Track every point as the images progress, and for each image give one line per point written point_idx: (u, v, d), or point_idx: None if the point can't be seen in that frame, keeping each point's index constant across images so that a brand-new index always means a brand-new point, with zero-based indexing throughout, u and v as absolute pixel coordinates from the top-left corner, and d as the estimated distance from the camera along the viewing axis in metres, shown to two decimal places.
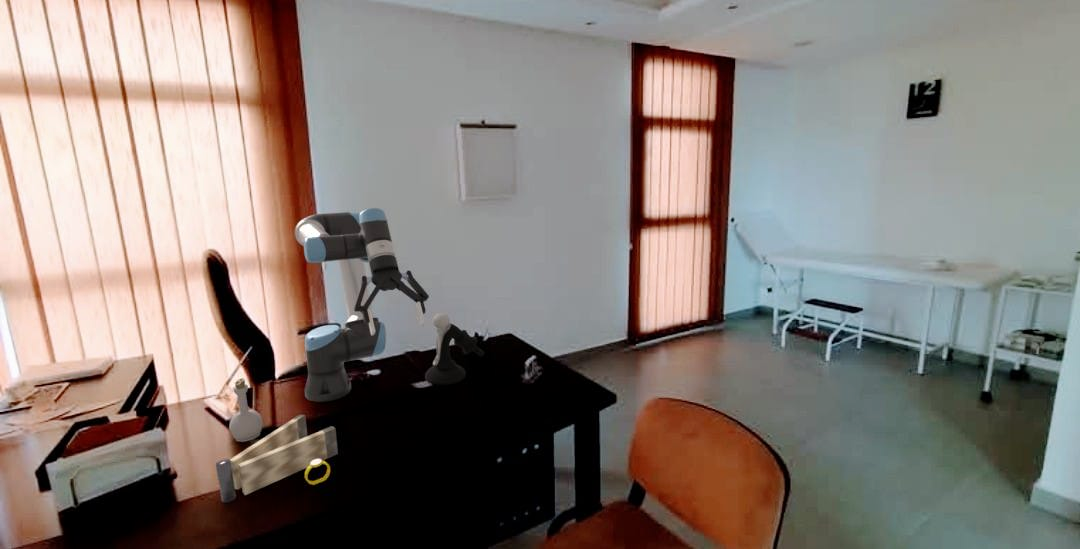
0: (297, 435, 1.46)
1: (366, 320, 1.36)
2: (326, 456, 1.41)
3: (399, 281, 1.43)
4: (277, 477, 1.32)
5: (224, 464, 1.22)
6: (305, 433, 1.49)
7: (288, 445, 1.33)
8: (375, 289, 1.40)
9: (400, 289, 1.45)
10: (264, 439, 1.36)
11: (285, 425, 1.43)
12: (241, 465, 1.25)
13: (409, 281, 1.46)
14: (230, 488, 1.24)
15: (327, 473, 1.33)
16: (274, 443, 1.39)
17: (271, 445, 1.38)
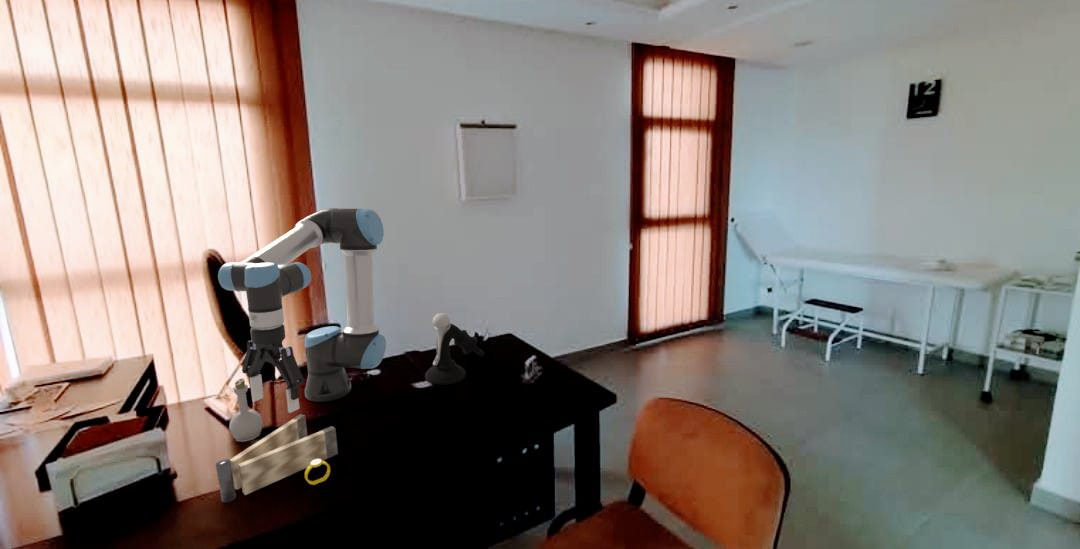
0: (297, 435, 1.46)
1: (251, 386, 1.33)
2: (326, 456, 1.41)
3: (271, 360, 1.26)
4: (277, 477, 1.32)
5: (224, 464, 1.22)
6: (305, 433, 1.49)
7: (288, 445, 1.33)
8: (255, 359, 1.29)
9: None
10: (264, 439, 1.36)
11: (285, 425, 1.43)
12: (241, 465, 1.25)
13: None
14: (230, 488, 1.24)
15: (327, 473, 1.33)
16: (274, 443, 1.39)
17: (271, 445, 1.38)
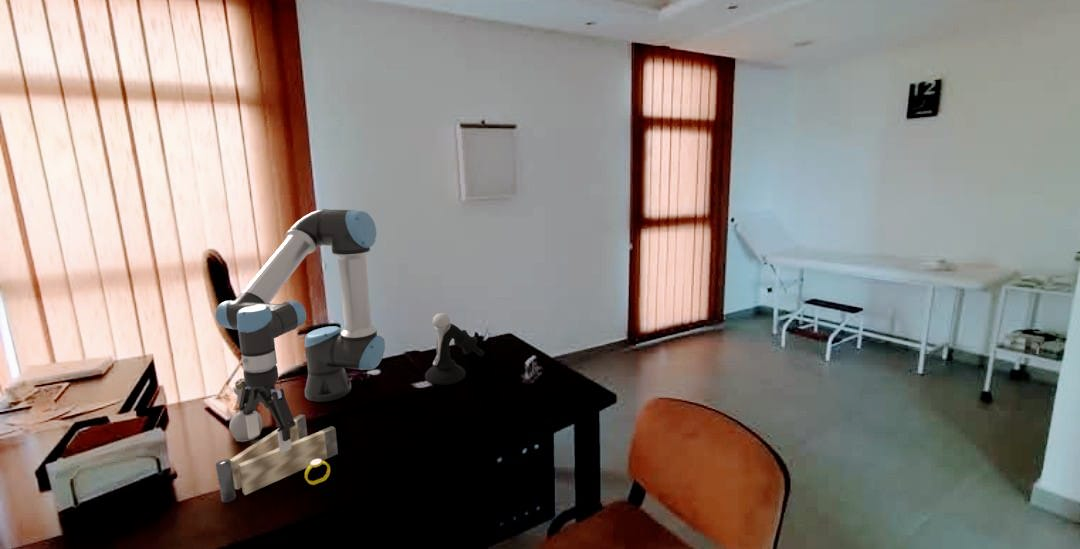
0: (297, 435, 1.46)
1: None
2: (326, 456, 1.41)
3: (264, 402, 1.27)
4: (277, 477, 1.32)
5: (224, 464, 1.22)
6: (305, 433, 1.49)
7: None
8: (250, 399, 1.31)
9: None
10: (264, 439, 1.36)
11: None
12: (241, 465, 1.25)
13: None
14: (230, 488, 1.24)
15: (327, 473, 1.33)
16: (274, 443, 1.39)
17: (271, 445, 1.38)
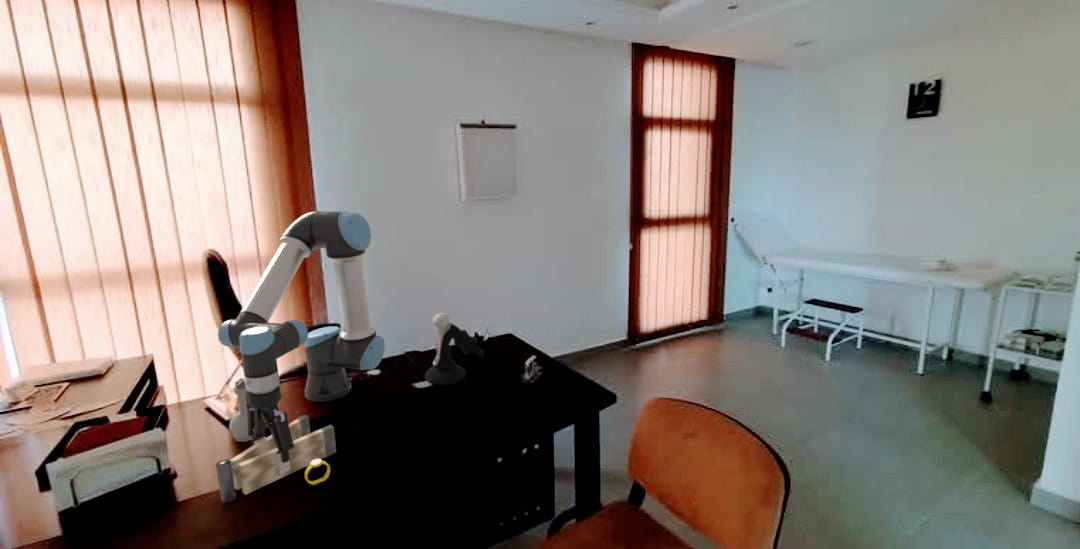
0: (300, 436, 1.46)
1: None
2: (325, 455, 1.42)
3: (267, 422, 1.29)
4: (277, 476, 1.32)
5: (224, 464, 1.22)
6: None
7: None
8: (256, 421, 1.33)
9: None
10: (266, 439, 1.36)
11: None
12: (241, 465, 1.25)
13: None
14: (230, 488, 1.24)
15: (327, 473, 1.33)
16: None
17: (273, 446, 1.37)
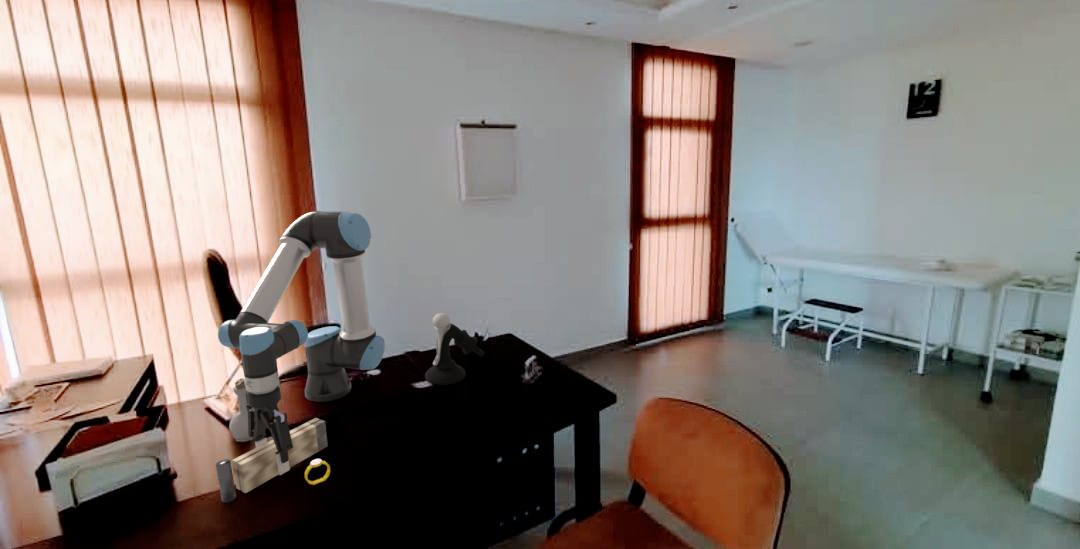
0: None
1: None
2: (317, 449, 1.44)
3: (267, 422, 1.29)
4: (274, 473, 1.33)
5: (224, 464, 1.22)
6: None
7: None
8: (256, 422, 1.33)
9: None
10: (272, 441, 1.35)
11: (297, 428, 1.41)
12: (241, 463, 1.26)
13: None
14: (230, 488, 1.24)
15: (327, 473, 1.33)
16: None
17: None
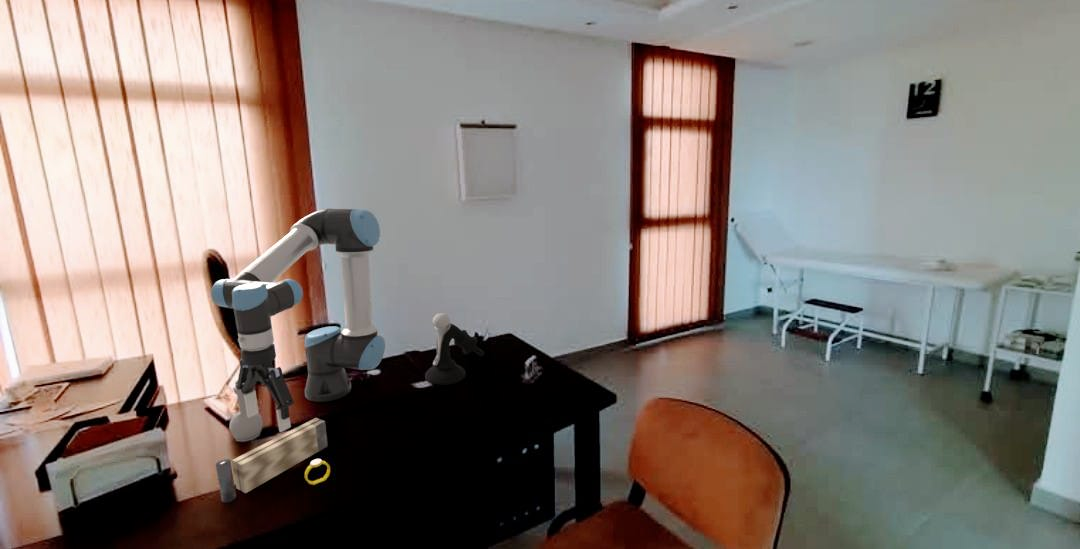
0: None
1: None
2: (317, 449, 1.44)
3: (261, 380, 1.26)
4: (274, 473, 1.33)
5: (224, 464, 1.22)
6: None
7: (283, 441, 1.35)
8: (248, 378, 1.30)
9: None
10: (272, 441, 1.35)
11: (297, 428, 1.41)
12: (241, 463, 1.26)
13: None
14: (230, 488, 1.24)
15: (327, 473, 1.33)
16: None
17: None
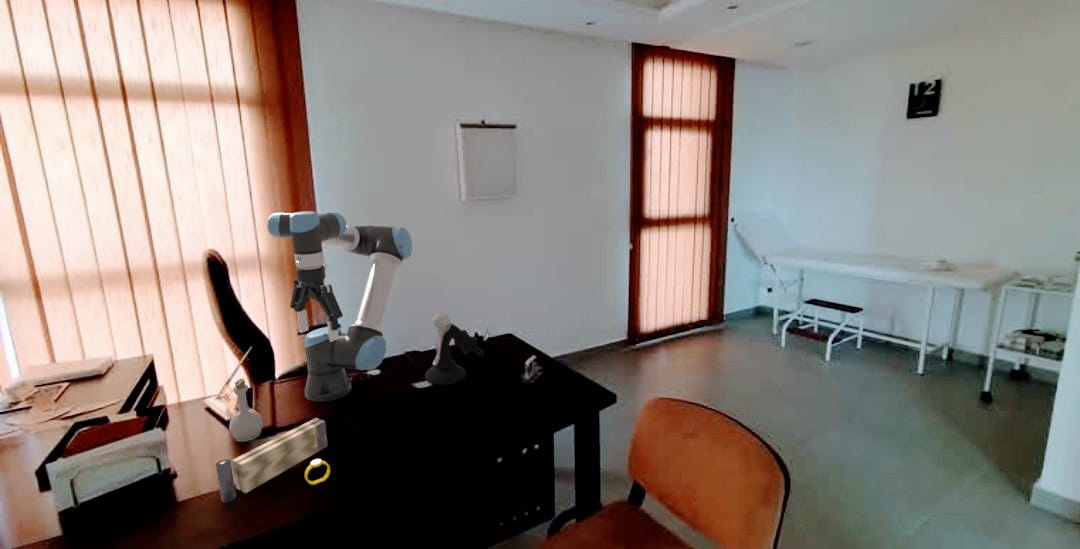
0: None
1: (298, 319, 1.54)
2: (317, 449, 1.44)
3: (314, 296, 1.45)
4: (274, 473, 1.33)
5: (224, 464, 1.22)
6: None
7: (283, 441, 1.35)
8: (301, 296, 1.50)
9: None
10: (272, 441, 1.35)
11: (297, 428, 1.41)
12: (241, 463, 1.26)
13: None
14: (230, 488, 1.24)
15: (327, 473, 1.33)
16: None
17: None
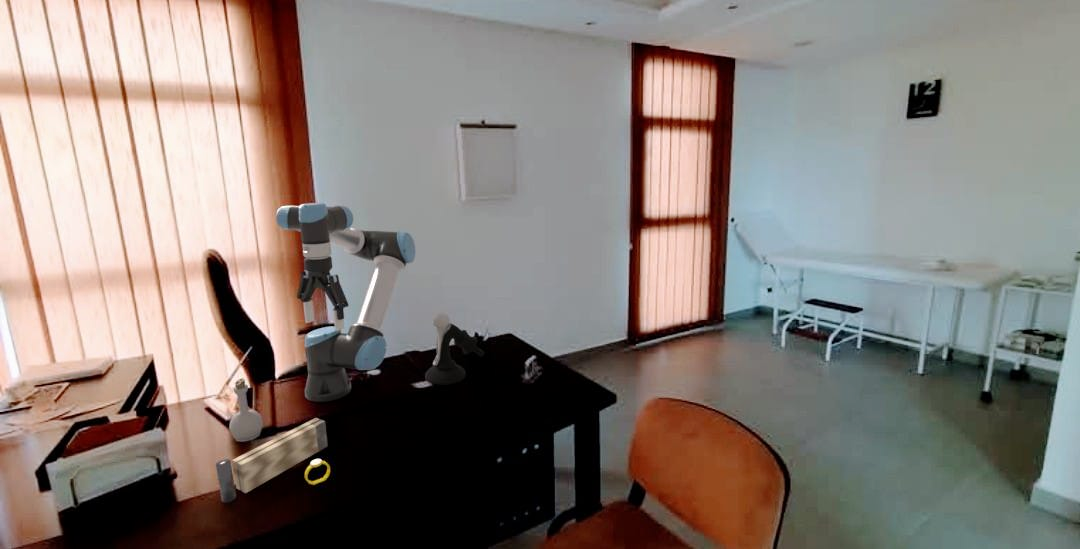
0: None
1: (304, 310, 1.57)
2: (317, 449, 1.44)
3: (321, 285, 1.48)
4: (274, 473, 1.33)
5: (224, 464, 1.22)
6: None
7: (283, 441, 1.35)
8: (308, 286, 1.52)
9: None
10: (272, 441, 1.35)
11: (297, 428, 1.41)
12: (241, 463, 1.26)
13: None
14: (230, 488, 1.24)
15: (327, 473, 1.33)
16: None
17: None
